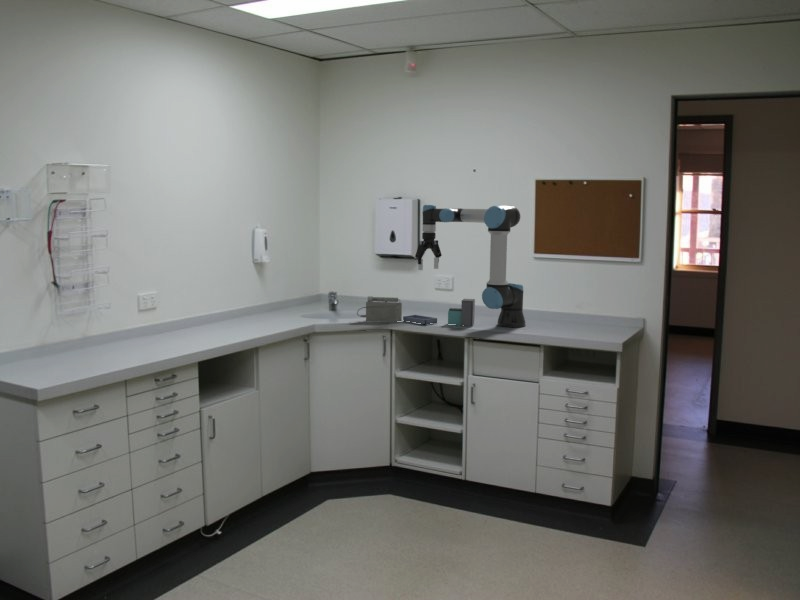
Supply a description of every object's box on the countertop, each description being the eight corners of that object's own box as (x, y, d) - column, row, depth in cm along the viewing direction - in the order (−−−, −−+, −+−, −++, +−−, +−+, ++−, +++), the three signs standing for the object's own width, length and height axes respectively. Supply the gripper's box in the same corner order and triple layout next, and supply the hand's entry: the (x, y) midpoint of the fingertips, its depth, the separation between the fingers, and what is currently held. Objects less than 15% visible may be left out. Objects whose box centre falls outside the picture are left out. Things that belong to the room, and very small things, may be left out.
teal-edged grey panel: (471, 325, 408) (471, 308, 406) (469, 326, 403) (470, 309, 402) (449, 324, 410) (449, 307, 409) (447, 325, 406) (448, 308, 405)
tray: (437, 323, 411) (437, 318, 411) (425, 325, 404) (425, 319, 404) (414, 319, 423) (414, 314, 422) (403, 321, 416) (403, 316, 415)
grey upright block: (474, 324, 409) (474, 299, 407) (472, 326, 401) (472, 300, 399) (463, 324, 410) (463, 298, 408) (461, 326, 403) (461, 300, 401)
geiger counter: (402, 296, 416) (357, 295, 418) (401, 297, 409) (356, 296, 412) (402, 321, 417) (357, 320, 420) (400, 323, 411) (355, 321, 414)
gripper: (438, 231, 437) (437, 267, 440) (409, 232, 419) (408, 270, 422) (448, 231, 432) (447, 268, 434) (419, 232, 414) (418, 271, 416)
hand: (428, 269), depth 428 cm, fingers open, 13 cm apart
